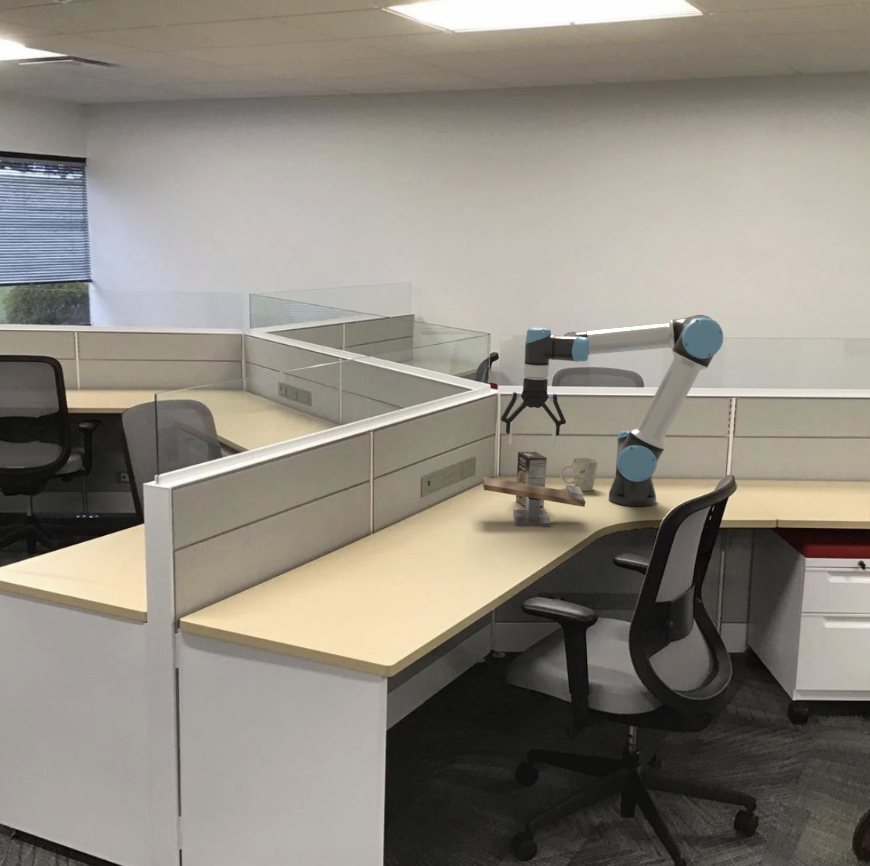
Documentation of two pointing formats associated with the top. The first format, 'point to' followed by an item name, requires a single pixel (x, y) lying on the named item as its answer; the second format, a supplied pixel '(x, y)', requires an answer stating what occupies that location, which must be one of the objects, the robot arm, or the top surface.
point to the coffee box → (531, 472)
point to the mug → (582, 473)
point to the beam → (536, 491)
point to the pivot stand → (531, 515)
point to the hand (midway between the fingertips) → (531, 444)
